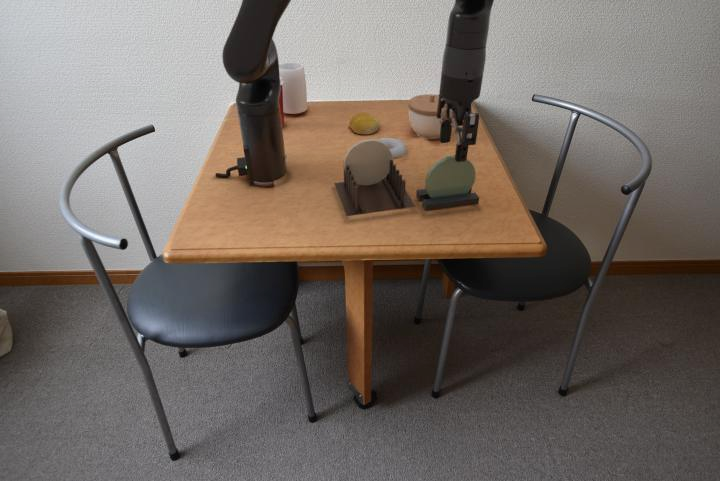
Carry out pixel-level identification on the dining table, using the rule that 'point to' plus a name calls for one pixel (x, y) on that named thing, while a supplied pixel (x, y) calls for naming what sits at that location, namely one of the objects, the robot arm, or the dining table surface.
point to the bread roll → (364, 123)
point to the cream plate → (368, 161)
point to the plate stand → (446, 200)
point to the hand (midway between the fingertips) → (452, 151)
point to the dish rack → (373, 193)
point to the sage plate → (450, 178)
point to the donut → (395, 147)
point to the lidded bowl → (425, 116)
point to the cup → (293, 87)
